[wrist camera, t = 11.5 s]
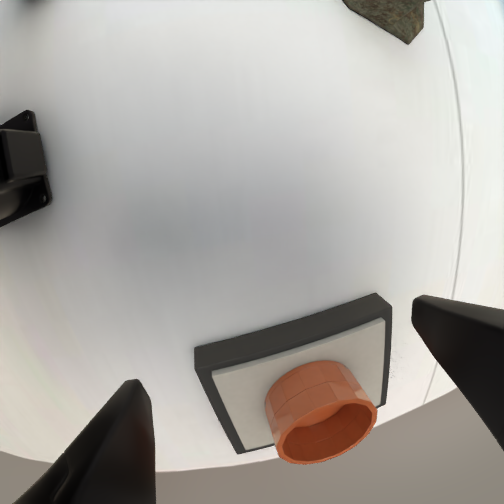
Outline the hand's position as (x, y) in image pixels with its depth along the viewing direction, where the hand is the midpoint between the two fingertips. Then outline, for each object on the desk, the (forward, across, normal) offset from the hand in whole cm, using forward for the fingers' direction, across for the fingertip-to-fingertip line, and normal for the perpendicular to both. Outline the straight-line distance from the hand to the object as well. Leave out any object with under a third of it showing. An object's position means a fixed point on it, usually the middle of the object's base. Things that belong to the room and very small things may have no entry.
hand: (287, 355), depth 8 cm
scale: (+11, -2, +12) cm, 16 cm away
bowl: (+8, -2, +11) cm, 14 cm away
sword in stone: (+11, -14, -18) cm, 25 cm away
